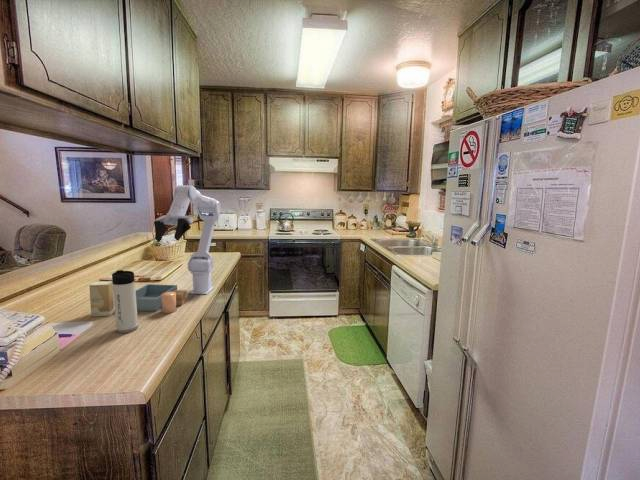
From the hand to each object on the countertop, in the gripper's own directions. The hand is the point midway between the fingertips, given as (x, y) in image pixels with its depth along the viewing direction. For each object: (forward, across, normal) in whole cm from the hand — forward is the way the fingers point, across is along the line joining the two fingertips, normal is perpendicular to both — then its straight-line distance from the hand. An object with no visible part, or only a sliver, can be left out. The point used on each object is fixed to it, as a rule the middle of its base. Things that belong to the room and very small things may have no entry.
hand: (166, 239), depth 110 cm
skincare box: (+22, -29, +16) cm, 39 cm away
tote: (+13, -19, +26) cm, 35 cm away
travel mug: (+29, -11, +11) cm, 33 cm away
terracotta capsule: (+18, -7, +23) cm, 30 cm away
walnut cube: (+12, -8, +29) cm, 32 cm away
